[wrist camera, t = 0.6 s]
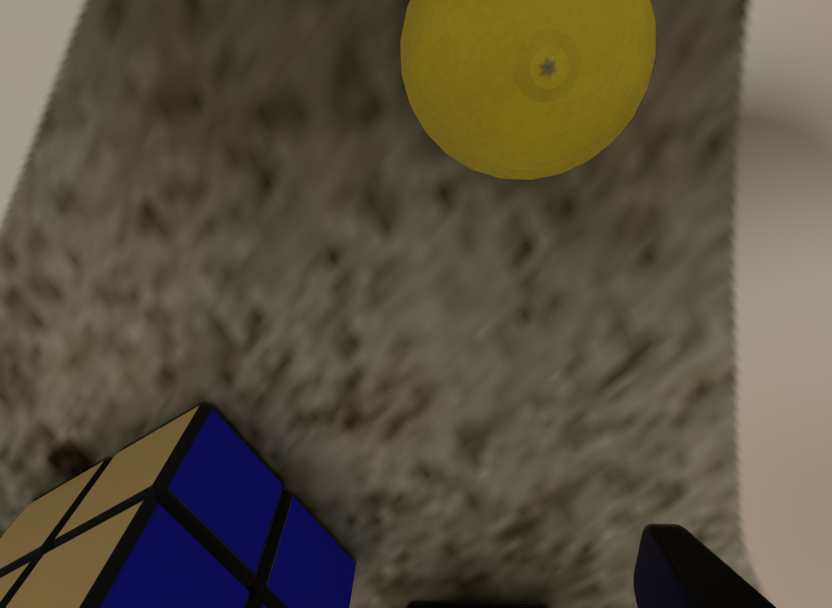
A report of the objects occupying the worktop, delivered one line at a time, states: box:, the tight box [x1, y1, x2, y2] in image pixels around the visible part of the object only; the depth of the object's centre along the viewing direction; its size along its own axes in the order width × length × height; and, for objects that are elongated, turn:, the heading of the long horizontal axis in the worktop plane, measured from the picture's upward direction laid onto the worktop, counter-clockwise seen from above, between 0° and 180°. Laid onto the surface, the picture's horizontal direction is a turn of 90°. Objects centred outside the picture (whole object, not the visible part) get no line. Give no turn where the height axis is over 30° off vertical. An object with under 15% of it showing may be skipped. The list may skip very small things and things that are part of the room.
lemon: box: [400, 0, 656, 180], centre depth 14 cm, size 6×6×8 cm
